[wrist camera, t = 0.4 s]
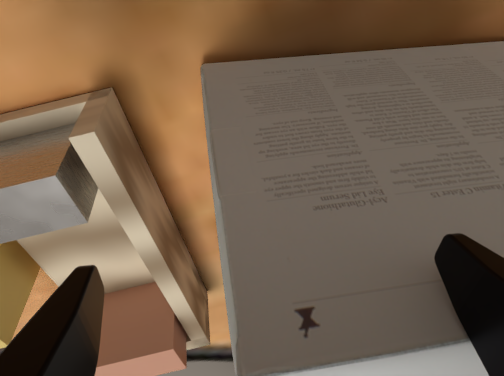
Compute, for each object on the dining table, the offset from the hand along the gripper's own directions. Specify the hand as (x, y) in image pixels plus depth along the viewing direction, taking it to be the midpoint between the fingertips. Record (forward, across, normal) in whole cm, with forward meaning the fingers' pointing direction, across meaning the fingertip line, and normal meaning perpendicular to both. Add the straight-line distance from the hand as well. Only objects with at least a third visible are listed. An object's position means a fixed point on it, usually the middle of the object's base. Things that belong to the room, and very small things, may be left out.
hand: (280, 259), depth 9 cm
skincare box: (+14, -9, +2) cm, 17 cm away
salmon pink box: (+13, +8, +19) cm, 24 cm away
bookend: (+13, +11, +4) cm, 17 cm away
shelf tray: (+14, +9, +12) cm, 21 cm away
